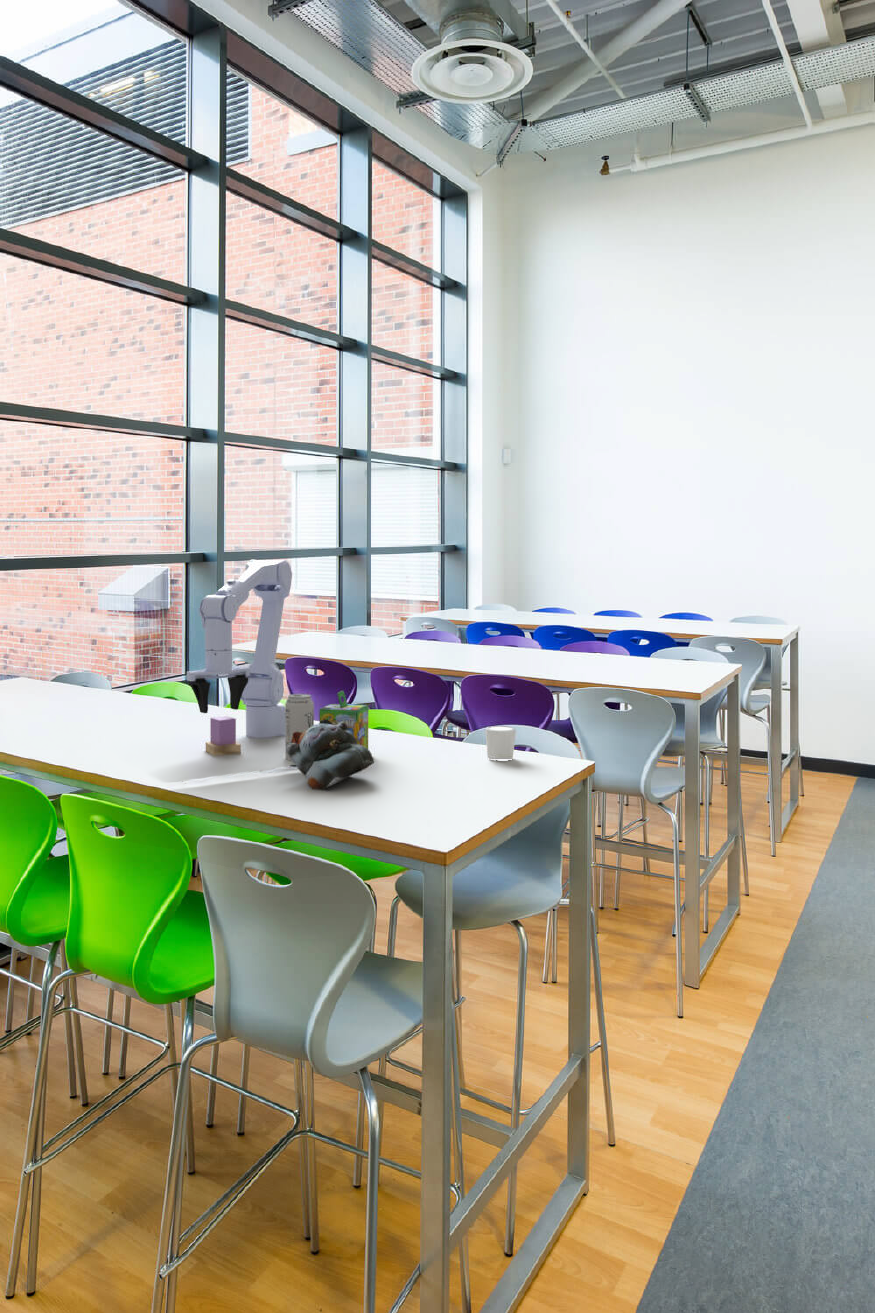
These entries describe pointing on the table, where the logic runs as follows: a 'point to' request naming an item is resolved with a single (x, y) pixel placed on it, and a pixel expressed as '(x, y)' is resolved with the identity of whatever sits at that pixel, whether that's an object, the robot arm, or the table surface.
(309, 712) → the energy drink can
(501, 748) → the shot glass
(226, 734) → the purple block
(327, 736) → the grey stuffed animal
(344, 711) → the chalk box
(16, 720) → the table surface
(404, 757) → the table surface
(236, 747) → the oak tile
